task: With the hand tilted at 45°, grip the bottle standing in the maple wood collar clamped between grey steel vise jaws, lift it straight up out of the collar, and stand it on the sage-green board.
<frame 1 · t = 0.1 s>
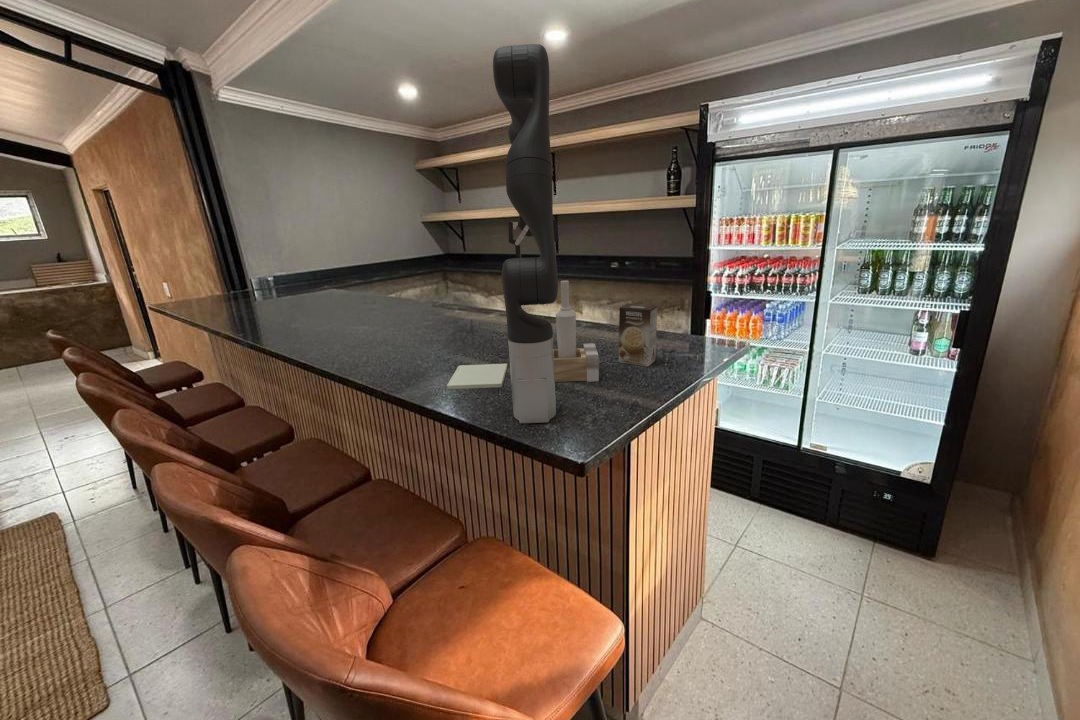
hand: (534, 257, 131), 29 cm above the countertop, tool pointing down, fingers open, 8 cm apart
bottle: (567, 375, 120), on the countertop
coffee box: (636, 362, 128), on the countertop
sage board: (479, 377, 122), on the countertop
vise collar: (567, 375, 120), on the countertop
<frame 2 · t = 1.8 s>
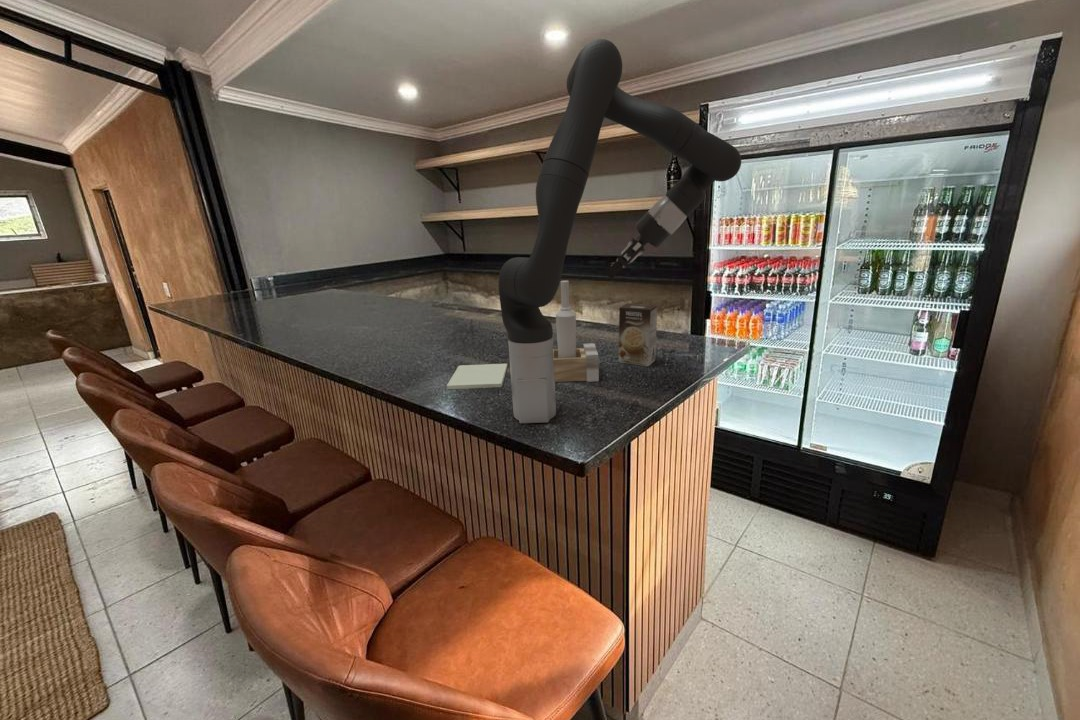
hand: (610, 273, 108), 27 cm above the countertop, tool tilted 45°, fingers open, 8 cm apart
nothing on the countertop moved.
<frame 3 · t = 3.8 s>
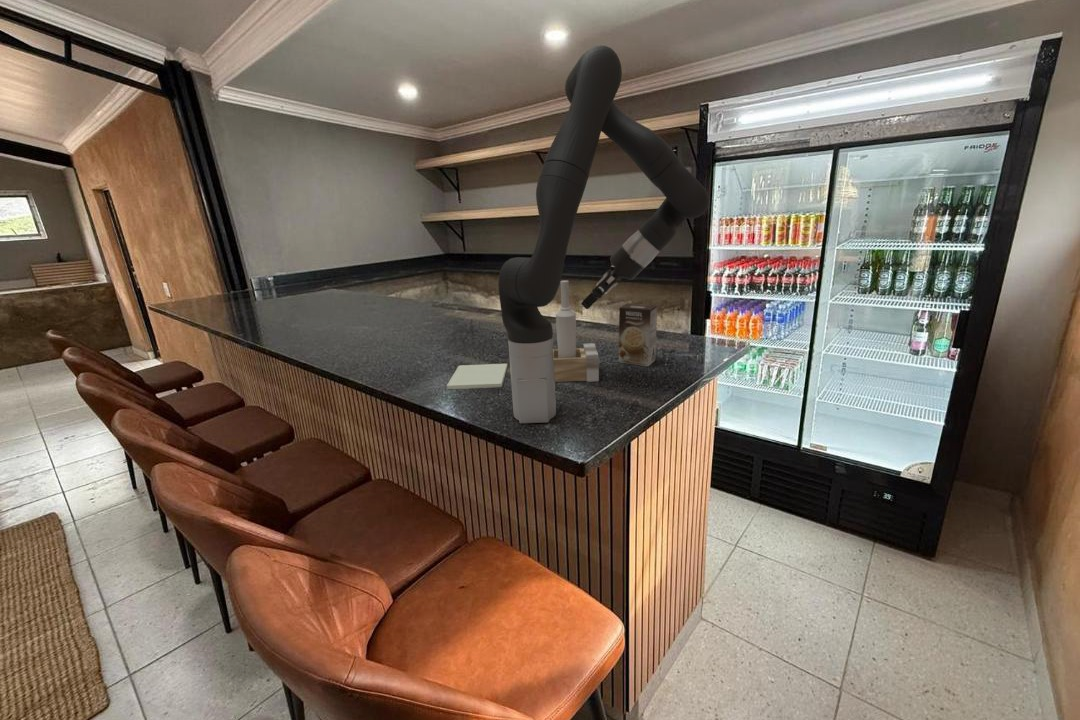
hand: (587, 303, 112), 20 cm above the countertop, tool tilted 45°, fingers open, 8 cm apart
nothing on the countertop moved.
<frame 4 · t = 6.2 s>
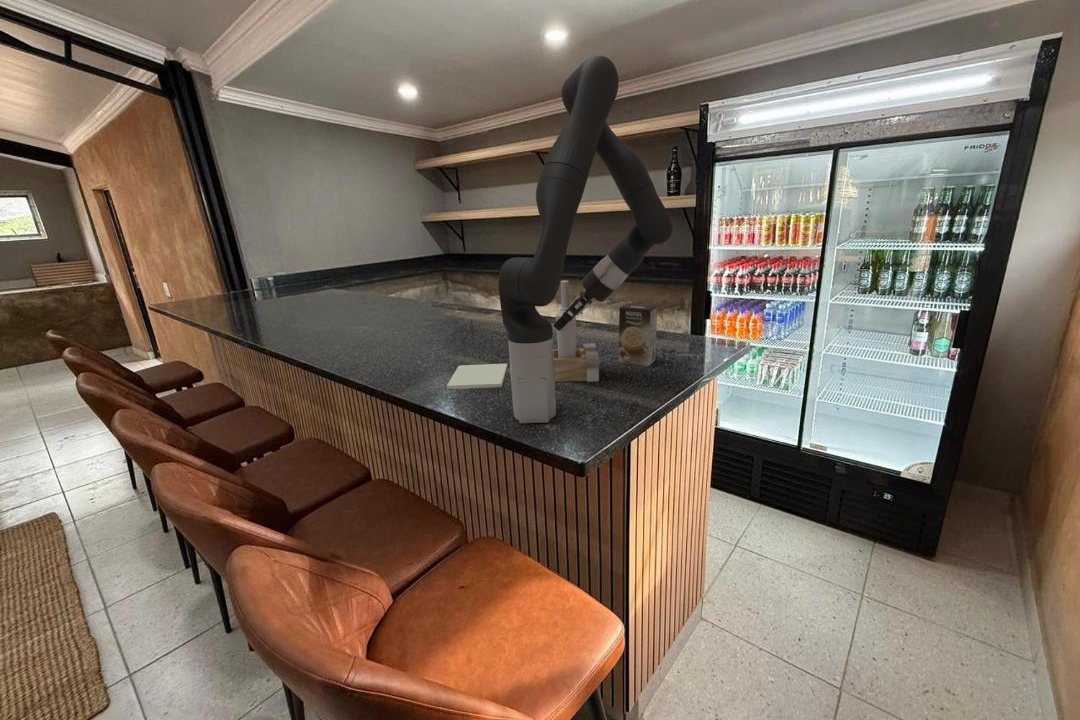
hand: (559, 325, 116), 14 cm above the countertop, tool tilted 45°, fingers closed on bottle, 5 cm apart
bottle: (567, 375, 120), on the countertop, touching gripper
everything else where it was.
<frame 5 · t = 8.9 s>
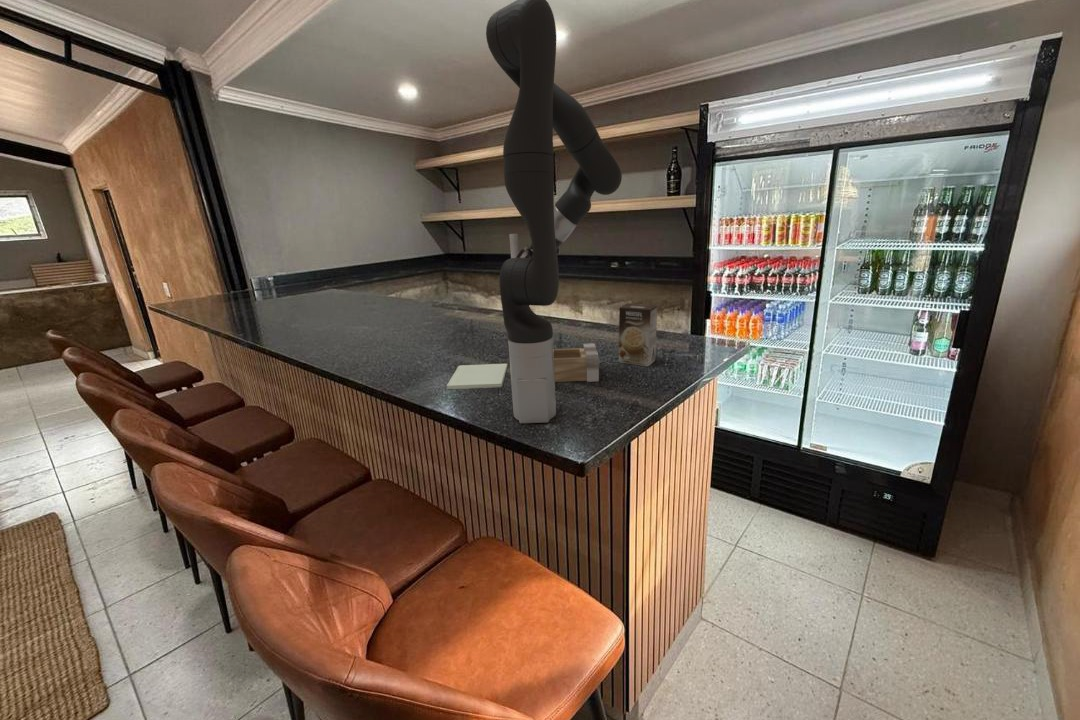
hand: (509, 280, 113), 26 cm above the countertop, tool tilted 45°, fingers closed on bottle, 5 cm apart
bottle: (519, 334, 117), point 12 cm above the countertop, touching gripper
everything else where it was.
when the fingers open (15 cm above the countertop, at t = 11.6 s): bottle stays where it is, resting on sage board.
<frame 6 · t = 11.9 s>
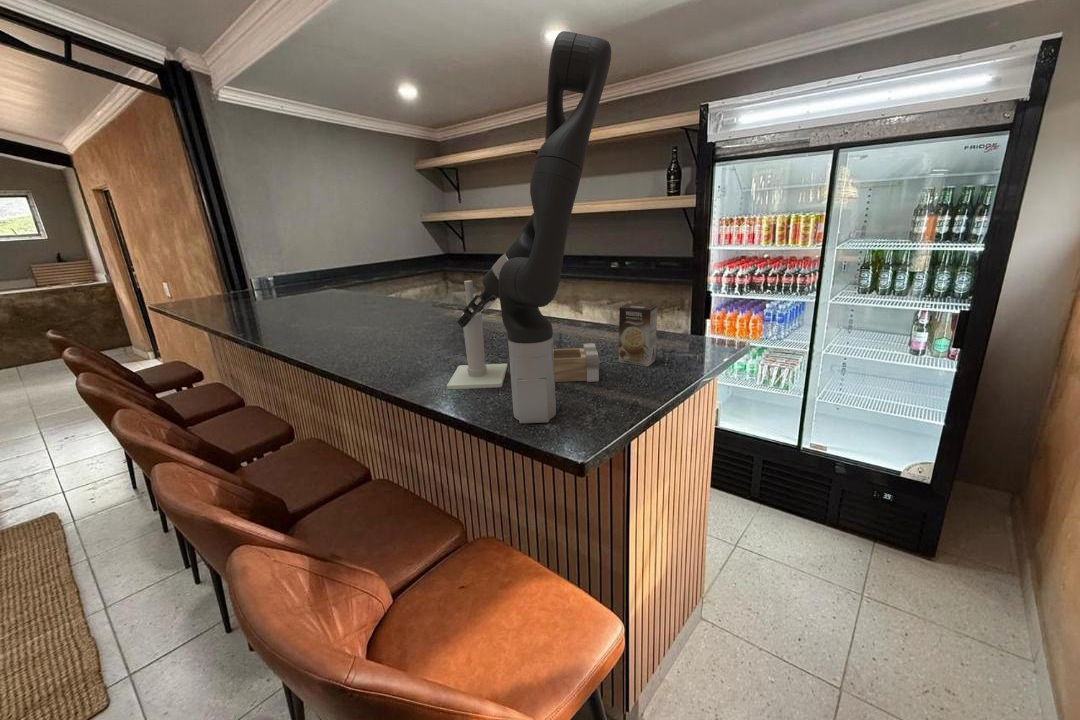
hand: (466, 321, 117), 16 cm above the countertop, tool tilted 45°, fingers open, 7 cm apart
bottle: (477, 374, 122), point 1 cm above the countertop, touching sage board
everything else where it was.
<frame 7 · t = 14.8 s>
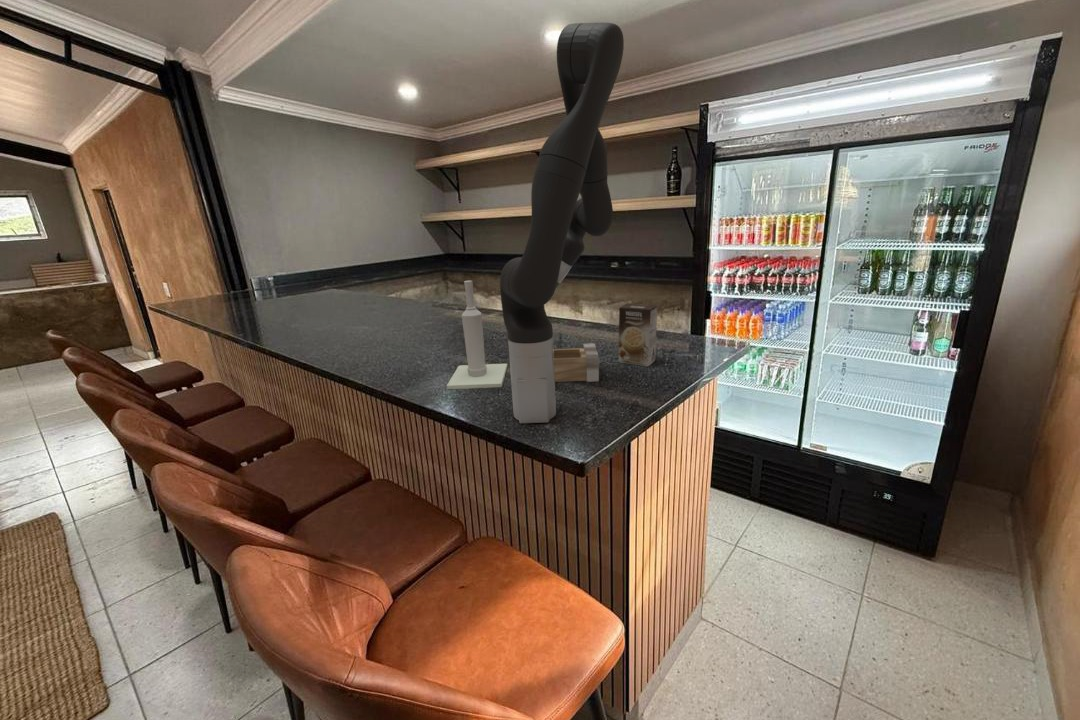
hand: (511, 322, 115), 15 cm above the countertop, tool tilted 40°, fingers open, 8 cm apart
nothing on the countertop moved.
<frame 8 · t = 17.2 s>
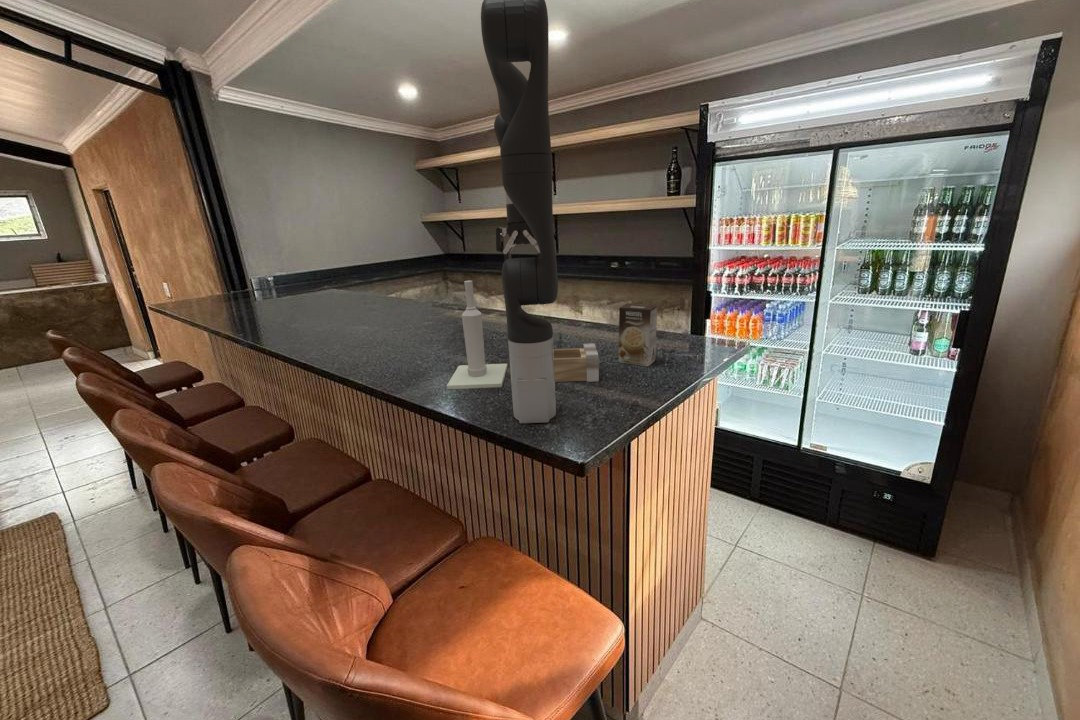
hand: (525, 268, 116), 28 cm above the countertop, tool pointing down, fingers open, 8 cm apart
nothing on the countertop moved.
at the end: bottle inside the target area (0.4 cm from its centre), point 0.8 cm above the countertop; bottle tilted 0°; the gripper is holding nothing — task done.
